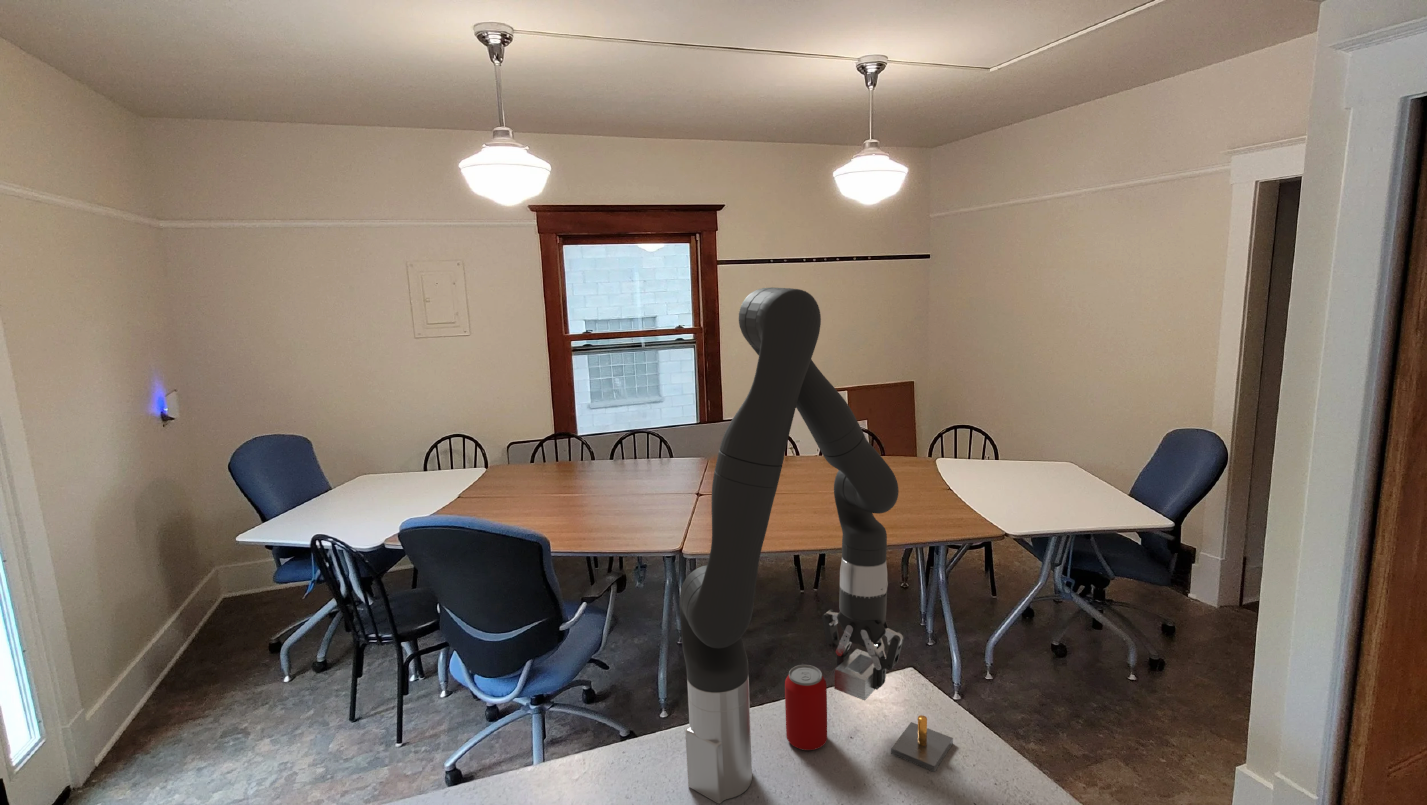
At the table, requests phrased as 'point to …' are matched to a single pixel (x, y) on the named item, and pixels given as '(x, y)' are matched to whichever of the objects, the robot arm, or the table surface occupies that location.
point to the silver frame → (855, 675)
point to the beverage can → (806, 707)
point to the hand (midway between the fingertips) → (860, 680)
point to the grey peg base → (922, 745)
